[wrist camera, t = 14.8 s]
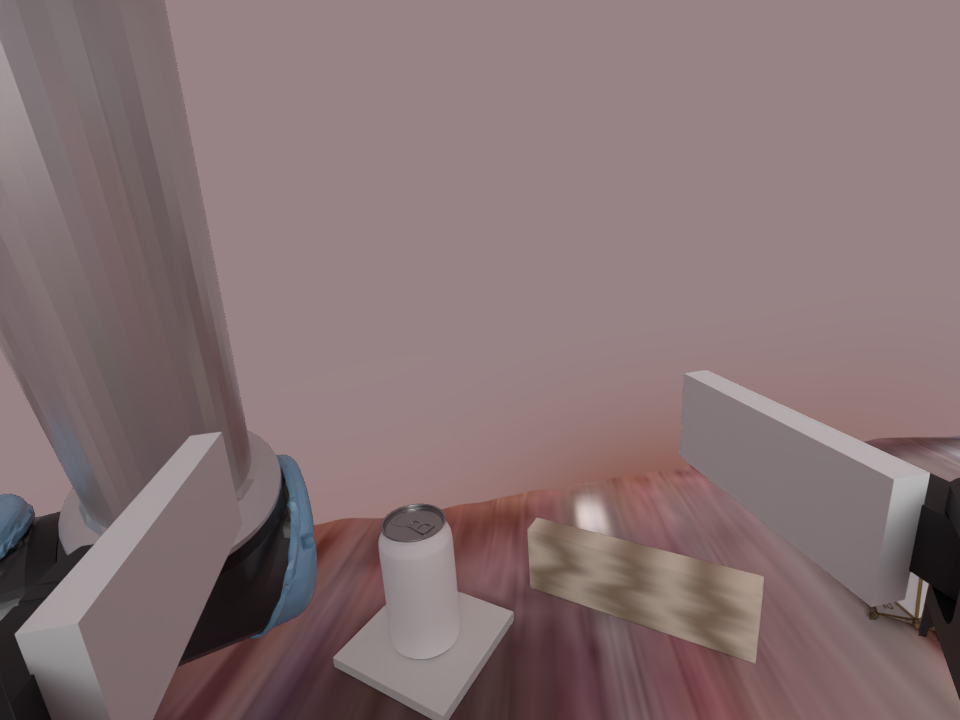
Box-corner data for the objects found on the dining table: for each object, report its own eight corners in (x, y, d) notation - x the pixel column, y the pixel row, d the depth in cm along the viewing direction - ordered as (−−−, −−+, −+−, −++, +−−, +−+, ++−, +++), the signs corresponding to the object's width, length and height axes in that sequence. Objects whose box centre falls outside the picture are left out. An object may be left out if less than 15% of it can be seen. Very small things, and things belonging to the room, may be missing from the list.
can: (423, 599, 52) (411, 494, 48) (474, 624, 48) (465, 513, 45) (376, 643, 47) (359, 529, 43) (430, 675, 43) (416, 553, 40)
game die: (872, 641, 49) (817, 537, 52) (967, 615, 47) (905, 509, 50) (921, 674, 40) (852, 547, 44) (1039, 644, 39) (959, 514, 42)
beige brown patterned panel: (530, 587, 54) (527, 529, 52) (539, 573, 56) (537, 517, 54) (755, 663, 43) (762, 594, 41) (757, 643, 45) (763, 576, 43)
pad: (334, 666, 46) (332, 657, 45) (415, 582, 56) (414, 575, 55) (444, 726, 40) (443, 716, 39) (513, 620, 49) (513, 611, 49)
